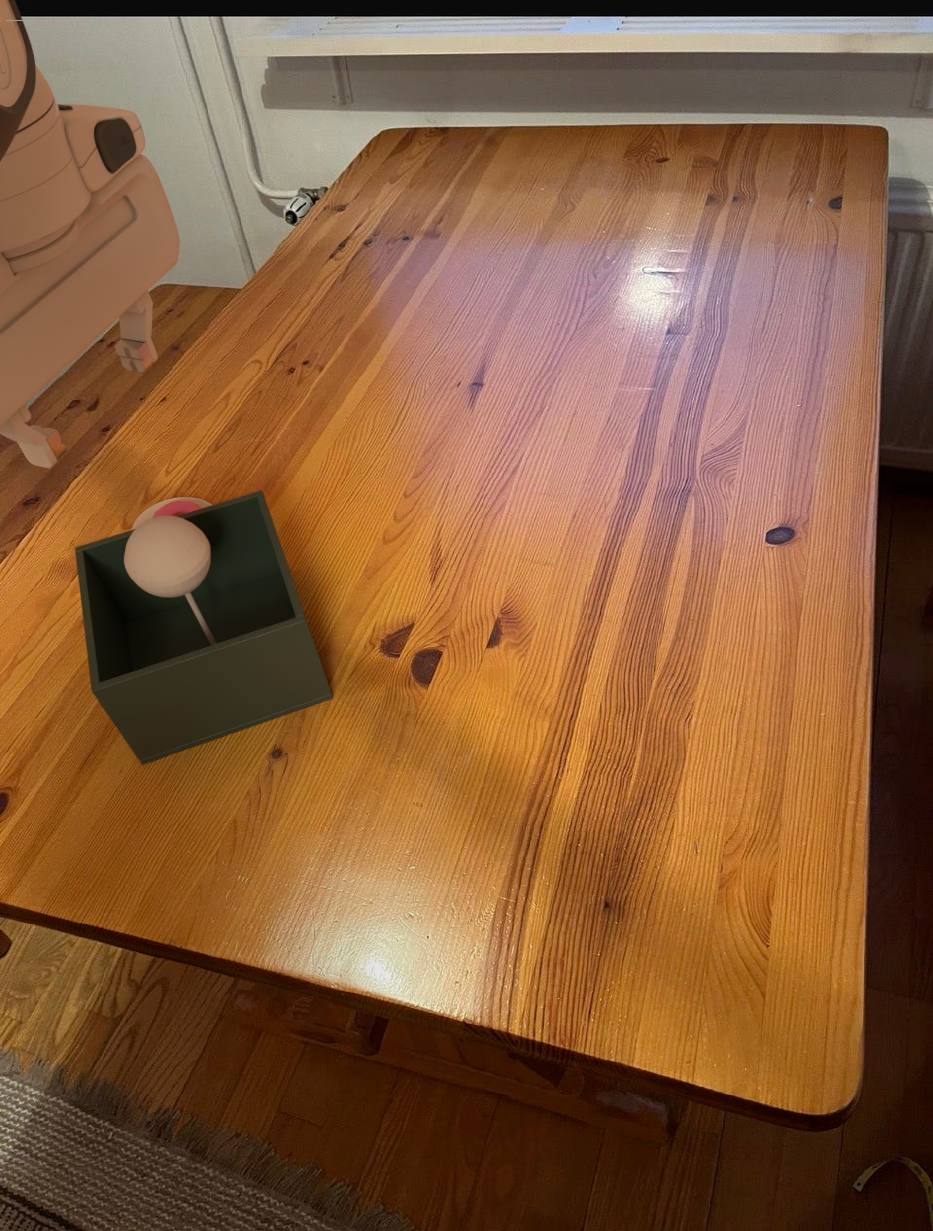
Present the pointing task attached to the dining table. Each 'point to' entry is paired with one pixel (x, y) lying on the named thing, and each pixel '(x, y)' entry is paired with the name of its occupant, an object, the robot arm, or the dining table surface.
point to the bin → (200, 637)
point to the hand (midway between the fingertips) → (98, 410)
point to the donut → (171, 508)
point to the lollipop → (169, 560)
